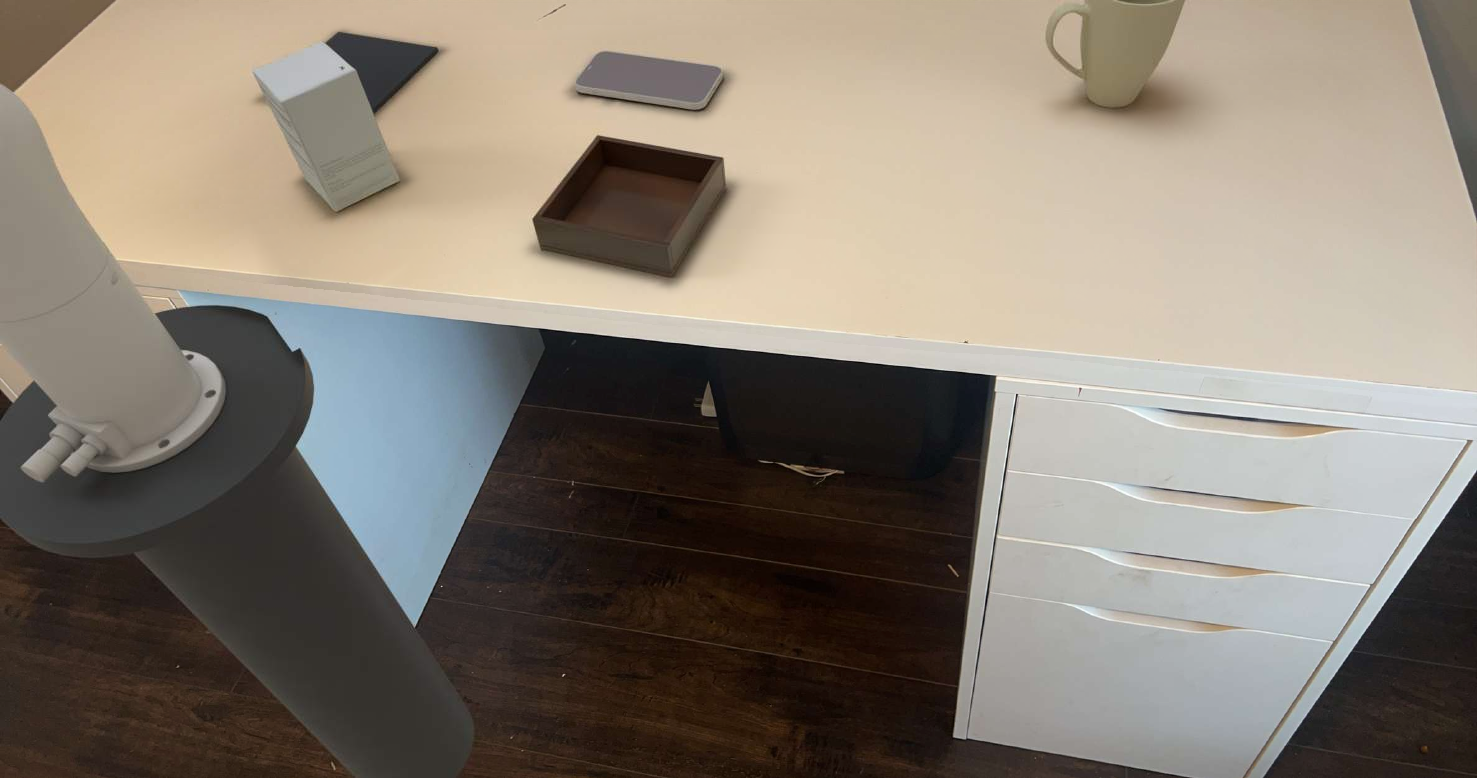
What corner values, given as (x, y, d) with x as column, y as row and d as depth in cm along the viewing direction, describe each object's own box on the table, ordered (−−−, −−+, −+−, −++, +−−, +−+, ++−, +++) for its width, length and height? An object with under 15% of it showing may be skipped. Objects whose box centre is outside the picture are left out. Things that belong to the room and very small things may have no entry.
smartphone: (701, 105, 103) (571, 85, 106) (702, 112, 103) (572, 92, 107) (725, 66, 107) (599, 49, 111) (726, 74, 108) (600, 56, 112)
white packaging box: (370, 150, 103) (324, 38, 93) (402, 182, 99) (357, 68, 89) (303, 180, 100) (248, 68, 90) (333, 215, 96) (279, 101, 86)
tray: (671, 277, 87) (667, 247, 84) (540, 248, 91) (531, 219, 88) (726, 187, 95) (723, 157, 92) (603, 164, 99) (597, 134, 96)
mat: (369, 118, 107) (367, 114, 106) (265, 98, 111) (263, 94, 110) (438, 50, 115) (437, 47, 115) (339, 35, 119) (338, 31, 119)
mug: (1086, 57, 105) (1110, -54, 96) (1173, 89, 101) (1208, -25, 92) (1028, 104, 101) (1048, -9, 92) (1117, 140, 96) (1148, 24, 87)
